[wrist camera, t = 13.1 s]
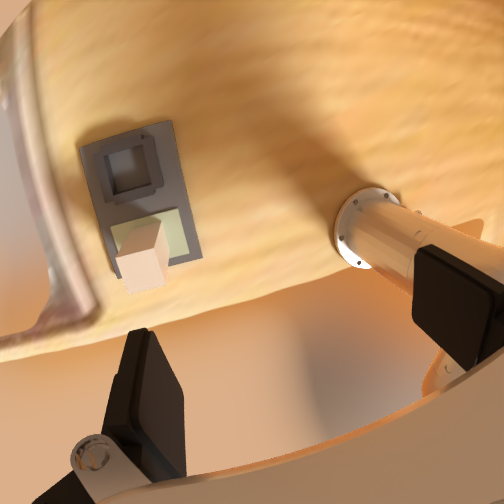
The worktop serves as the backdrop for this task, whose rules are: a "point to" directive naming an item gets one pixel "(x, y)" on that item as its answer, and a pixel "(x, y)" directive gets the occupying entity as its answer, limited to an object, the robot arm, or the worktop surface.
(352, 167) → the worktop surface
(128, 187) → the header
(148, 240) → the plug
